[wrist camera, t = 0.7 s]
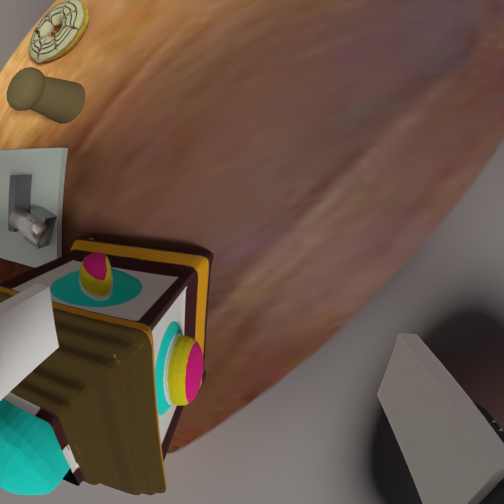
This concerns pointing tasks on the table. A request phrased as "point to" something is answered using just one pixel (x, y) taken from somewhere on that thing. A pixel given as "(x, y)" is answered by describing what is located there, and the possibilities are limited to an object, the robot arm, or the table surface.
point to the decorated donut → (59, 44)
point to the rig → (31, 200)
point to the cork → (45, 95)
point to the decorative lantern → (107, 368)
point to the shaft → (34, 225)
